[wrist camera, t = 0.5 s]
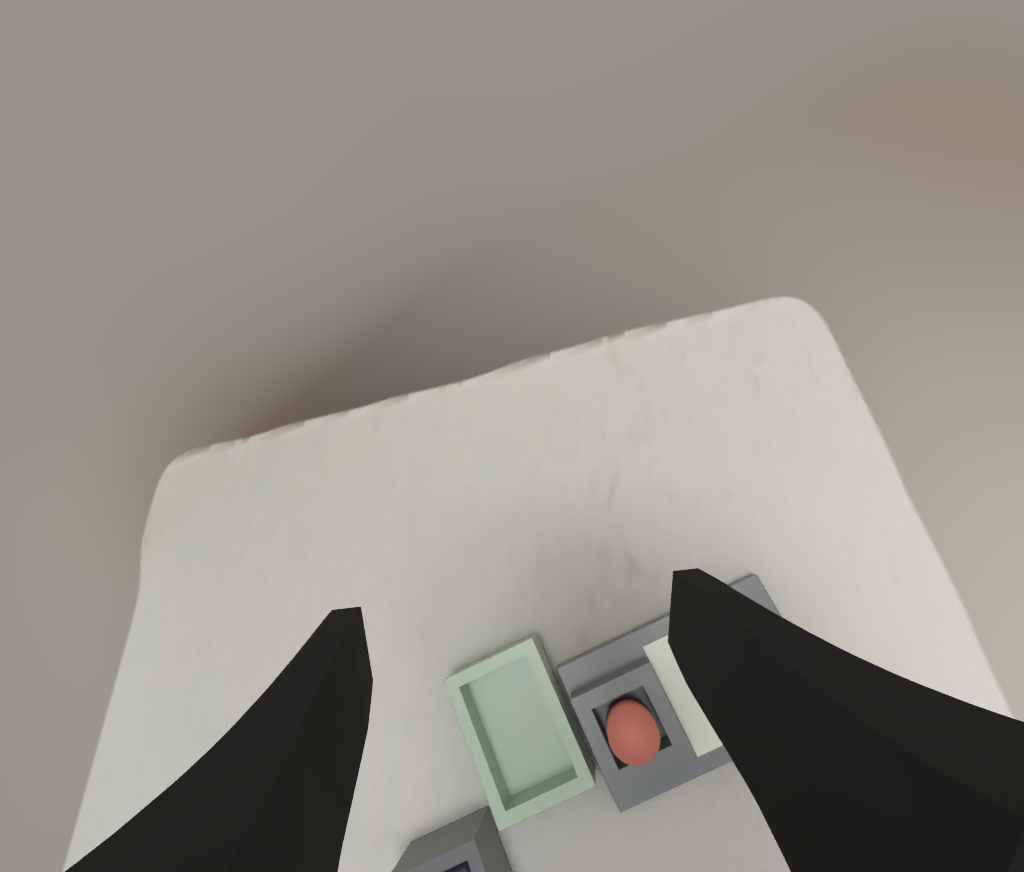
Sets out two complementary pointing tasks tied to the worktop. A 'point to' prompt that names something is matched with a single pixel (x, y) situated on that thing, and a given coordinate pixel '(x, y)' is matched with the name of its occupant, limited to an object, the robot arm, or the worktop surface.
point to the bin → (458, 847)
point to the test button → (632, 732)
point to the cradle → (661, 687)
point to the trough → (520, 732)
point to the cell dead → (460, 868)
